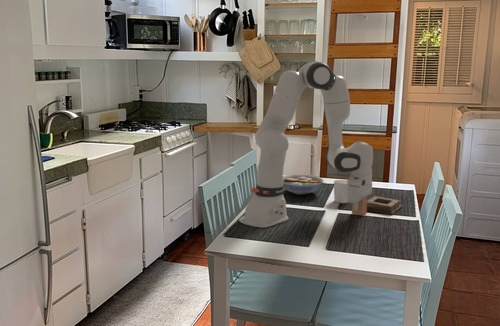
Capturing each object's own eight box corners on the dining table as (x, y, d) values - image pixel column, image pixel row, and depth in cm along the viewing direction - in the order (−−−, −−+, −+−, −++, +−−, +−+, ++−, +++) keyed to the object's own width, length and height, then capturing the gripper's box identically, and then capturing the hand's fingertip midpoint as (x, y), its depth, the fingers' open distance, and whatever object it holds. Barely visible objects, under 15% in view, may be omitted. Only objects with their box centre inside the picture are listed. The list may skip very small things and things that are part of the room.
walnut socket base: (392, 215, 211) (392, 207, 211) (362, 209, 219) (362, 202, 218) (401, 207, 223) (402, 200, 222) (373, 202, 230) (373, 195, 230)
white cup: (348, 199, 235) (349, 179, 233) (350, 204, 227) (351, 183, 225) (332, 198, 235) (333, 179, 233) (333, 203, 228) (334, 183, 226)
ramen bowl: (325, 188, 254) (325, 173, 252) (325, 200, 232) (326, 184, 230) (278, 186, 258) (278, 171, 256) (274, 198, 235) (274, 182, 234)
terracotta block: (362, 215, 210) (363, 200, 209) (351, 213, 213) (352, 198, 212) (366, 212, 214) (367, 197, 213) (356, 210, 217) (357, 195, 216)
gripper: (363, 172, 220) (361, 201, 223) (345, 181, 204) (343, 212, 207) (376, 174, 217) (374, 203, 220) (359, 183, 201) (357, 215, 203)
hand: (359, 208), depth 213 cm, fingers closed on terracotta block, 5 cm apart
